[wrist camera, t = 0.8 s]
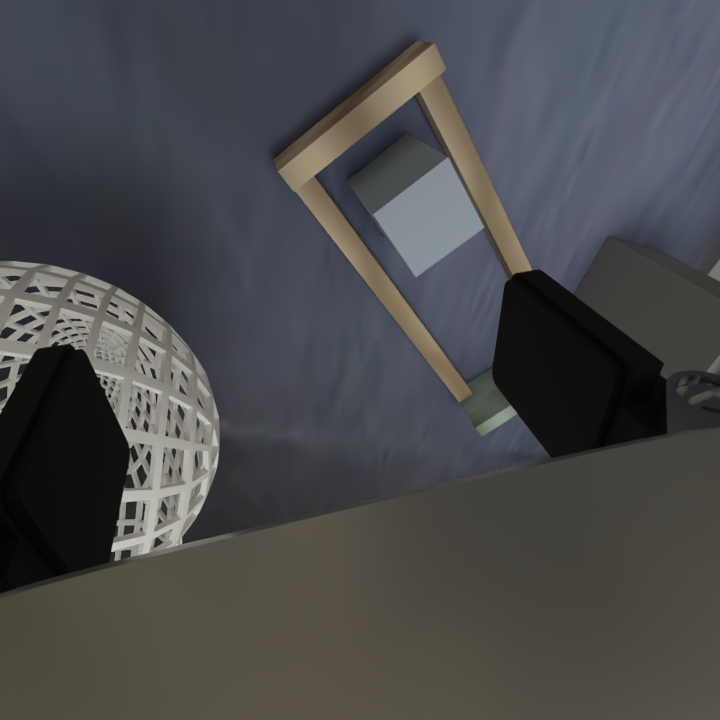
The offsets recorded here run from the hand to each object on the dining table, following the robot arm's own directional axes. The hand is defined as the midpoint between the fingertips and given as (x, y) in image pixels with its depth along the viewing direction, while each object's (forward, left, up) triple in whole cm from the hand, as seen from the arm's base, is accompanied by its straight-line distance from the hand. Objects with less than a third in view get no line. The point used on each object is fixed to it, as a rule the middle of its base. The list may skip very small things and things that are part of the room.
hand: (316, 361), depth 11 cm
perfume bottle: (-18, +27, -24) cm, 40 cm away
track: (-6, +15, -24) cm, 29 cm away
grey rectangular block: (-6, +8, -24) cm, 25 cm away
